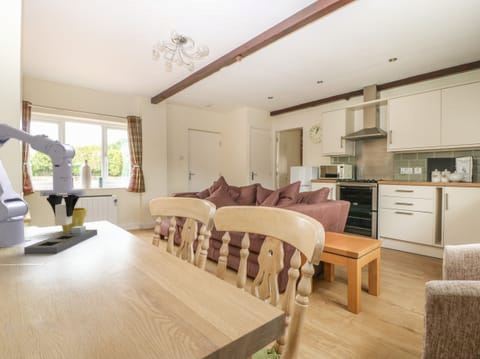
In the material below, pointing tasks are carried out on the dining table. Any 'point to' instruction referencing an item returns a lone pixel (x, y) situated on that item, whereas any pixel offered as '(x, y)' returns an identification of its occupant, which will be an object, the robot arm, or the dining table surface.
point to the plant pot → (76, 219)
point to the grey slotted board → (59, 243)
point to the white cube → (78, 229)
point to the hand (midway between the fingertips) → (63, 216)
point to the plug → (62, 215)
